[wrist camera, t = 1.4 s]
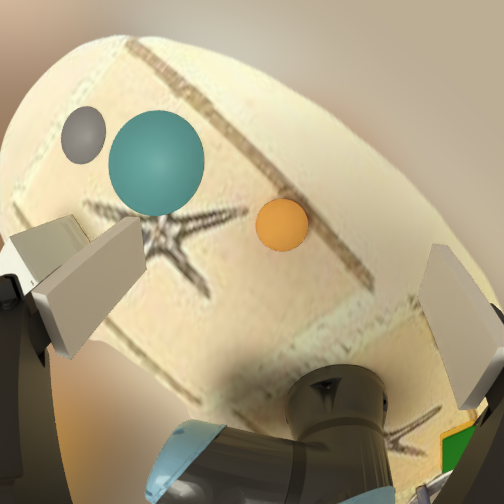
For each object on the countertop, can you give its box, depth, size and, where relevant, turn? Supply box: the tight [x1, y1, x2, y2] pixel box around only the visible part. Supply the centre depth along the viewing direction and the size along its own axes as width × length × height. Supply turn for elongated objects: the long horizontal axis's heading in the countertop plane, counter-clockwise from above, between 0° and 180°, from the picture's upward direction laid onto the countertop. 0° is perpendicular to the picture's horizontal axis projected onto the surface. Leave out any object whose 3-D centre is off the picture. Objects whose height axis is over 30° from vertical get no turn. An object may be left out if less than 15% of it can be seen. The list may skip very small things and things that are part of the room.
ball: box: [256, 199, 308, 251], centre depth 33 cm, size 6×6×6 cm
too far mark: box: [61, 107, 106, 164], centre depth 36 cm, size 8×8×1 cm
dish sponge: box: [440, 420, 477, 473], centre depth 42 cm, size 7×14×2 cm, turn 24°
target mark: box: [109, 111, 204, 216], centre depth 36 cm, size 13×13×1 cm
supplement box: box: [0, 215, 90, 296], centre depth 36 cm, size 7×7×13 cm
